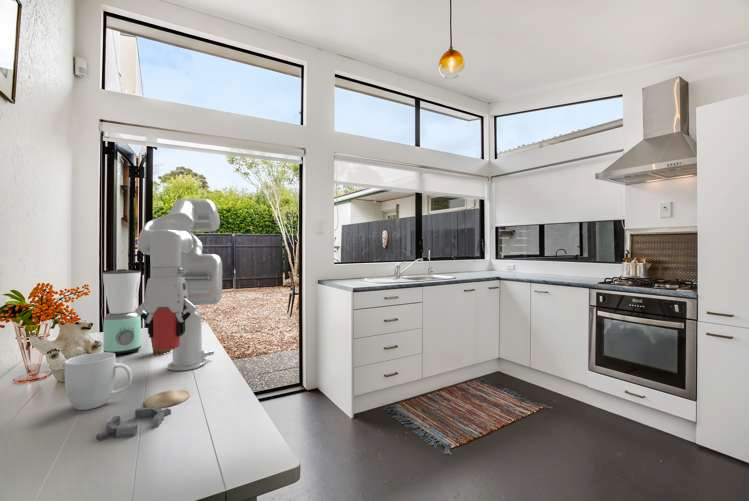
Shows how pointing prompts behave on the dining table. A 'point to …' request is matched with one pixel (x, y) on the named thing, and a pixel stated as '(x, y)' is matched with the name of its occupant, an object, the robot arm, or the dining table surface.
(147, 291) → the robot arm
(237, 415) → the dining table surface
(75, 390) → the mug
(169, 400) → the disc
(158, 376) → the dining table surface
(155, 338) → the beer can
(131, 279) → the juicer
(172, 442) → the dining table surface
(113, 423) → the collar
